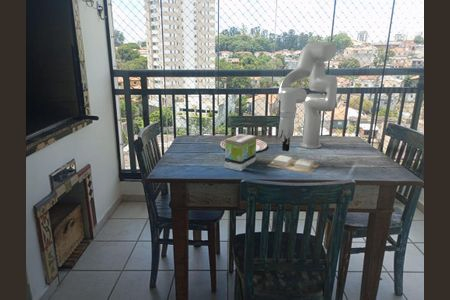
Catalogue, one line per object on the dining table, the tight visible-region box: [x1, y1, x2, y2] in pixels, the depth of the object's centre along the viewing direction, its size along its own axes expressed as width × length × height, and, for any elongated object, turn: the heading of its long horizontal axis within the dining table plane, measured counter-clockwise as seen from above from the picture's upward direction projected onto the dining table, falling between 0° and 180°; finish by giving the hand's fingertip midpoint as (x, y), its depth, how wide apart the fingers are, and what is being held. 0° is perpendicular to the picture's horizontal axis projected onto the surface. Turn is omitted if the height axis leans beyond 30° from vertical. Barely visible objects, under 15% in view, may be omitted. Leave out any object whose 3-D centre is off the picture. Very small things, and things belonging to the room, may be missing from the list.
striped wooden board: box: [266, 158, 320, 175], centre depth 161 cm, size 16×22×1 cm
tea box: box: [224, 133, 257, 172], centre depth 161 cm, size 15×10×15 cm, turn 148°
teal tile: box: [294, 158, 315, 171], centre depth 157 cm, size 2×7×8 cm
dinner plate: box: [220, 138, 268, 153], centre depth 191 cm, size 27×27×3 cm
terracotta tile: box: [272, 155, 293, 167], centre depth 163 cm, size 2×7×8 cm
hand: (285, 150), depth 164 cm, fingers closed
